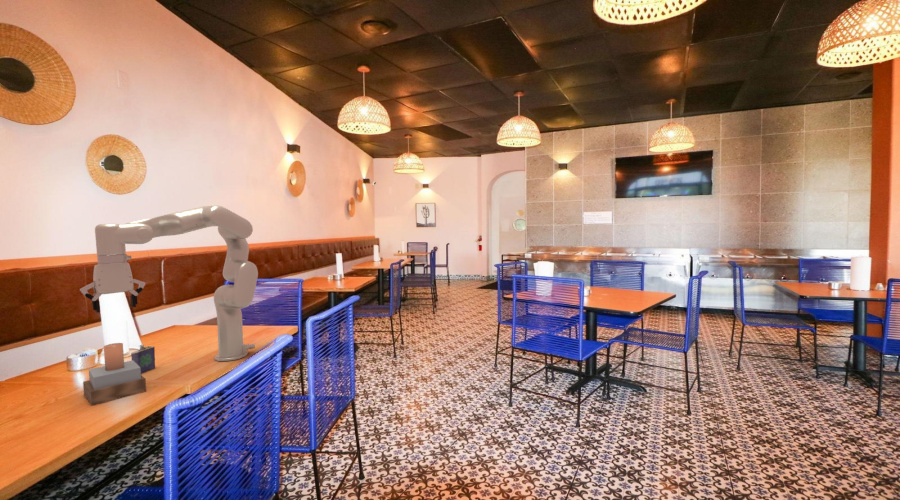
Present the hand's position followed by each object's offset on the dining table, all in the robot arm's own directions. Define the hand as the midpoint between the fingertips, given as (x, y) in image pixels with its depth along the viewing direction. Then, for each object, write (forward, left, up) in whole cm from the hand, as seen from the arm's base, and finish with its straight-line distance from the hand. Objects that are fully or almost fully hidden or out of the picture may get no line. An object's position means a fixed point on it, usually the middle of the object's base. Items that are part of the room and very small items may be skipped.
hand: (116, 309), depth 136 cm
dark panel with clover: (-10, -16, -29) cm, 34 cm away
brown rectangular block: (+2, +1, -20) cm, 20 cm away
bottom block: (+2, +2, -29) cm, 29 cm away
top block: (+2, +2, -24) cm, 24 cm away
